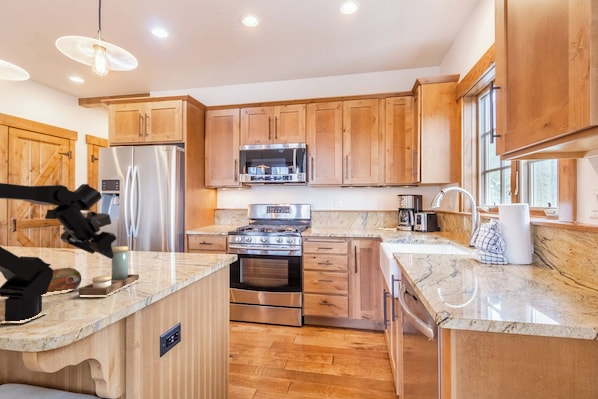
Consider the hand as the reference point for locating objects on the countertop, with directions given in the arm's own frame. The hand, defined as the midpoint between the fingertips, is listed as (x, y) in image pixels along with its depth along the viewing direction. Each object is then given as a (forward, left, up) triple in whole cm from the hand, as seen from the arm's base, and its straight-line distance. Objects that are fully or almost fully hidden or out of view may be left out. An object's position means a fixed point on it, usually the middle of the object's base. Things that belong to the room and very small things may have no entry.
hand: (102, 255), depth 94 cm
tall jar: (+8, -1, -13) cm, 15 cm away
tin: (-2, +15, -13) cm, 20 cm away
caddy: (+3, -1, -13) cm, 13 cm away
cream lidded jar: (-1, -1, -13) cm, 13 cm away
